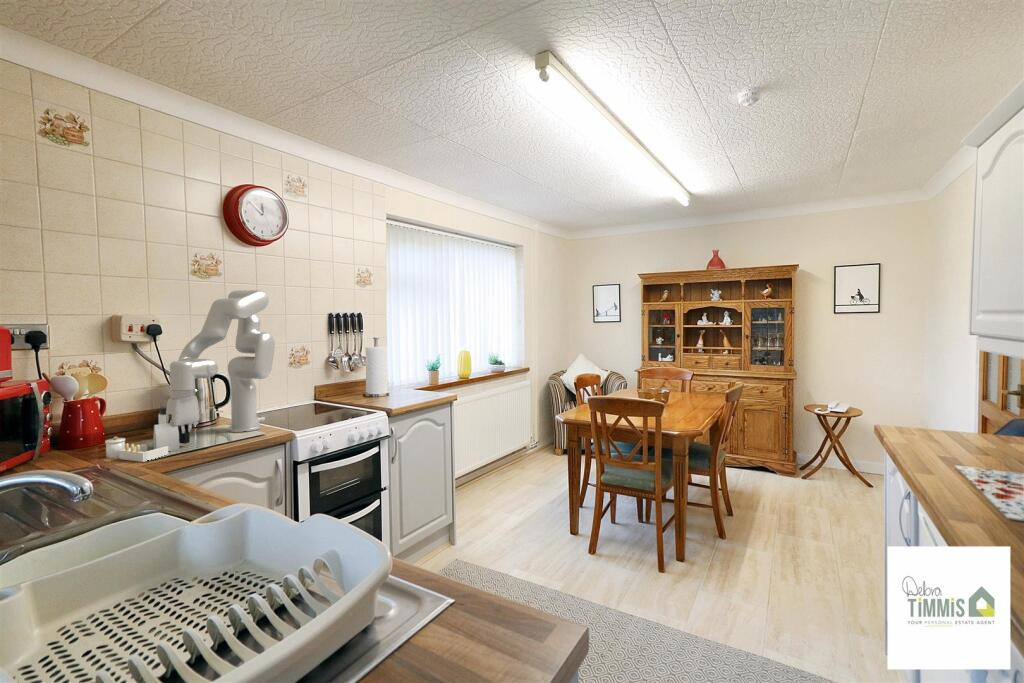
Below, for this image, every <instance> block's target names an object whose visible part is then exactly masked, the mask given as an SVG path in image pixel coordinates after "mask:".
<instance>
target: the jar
mask: <svg viewBox="0 0 1024 683" xmlns="http://www.w3.org/2000/svg"><path fill="white" fill-rule="evenodd" d="M166 408H167V405H165V406H159V408H158V409H159V410H158V411H159V413H158V424H166Z"/></svg>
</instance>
